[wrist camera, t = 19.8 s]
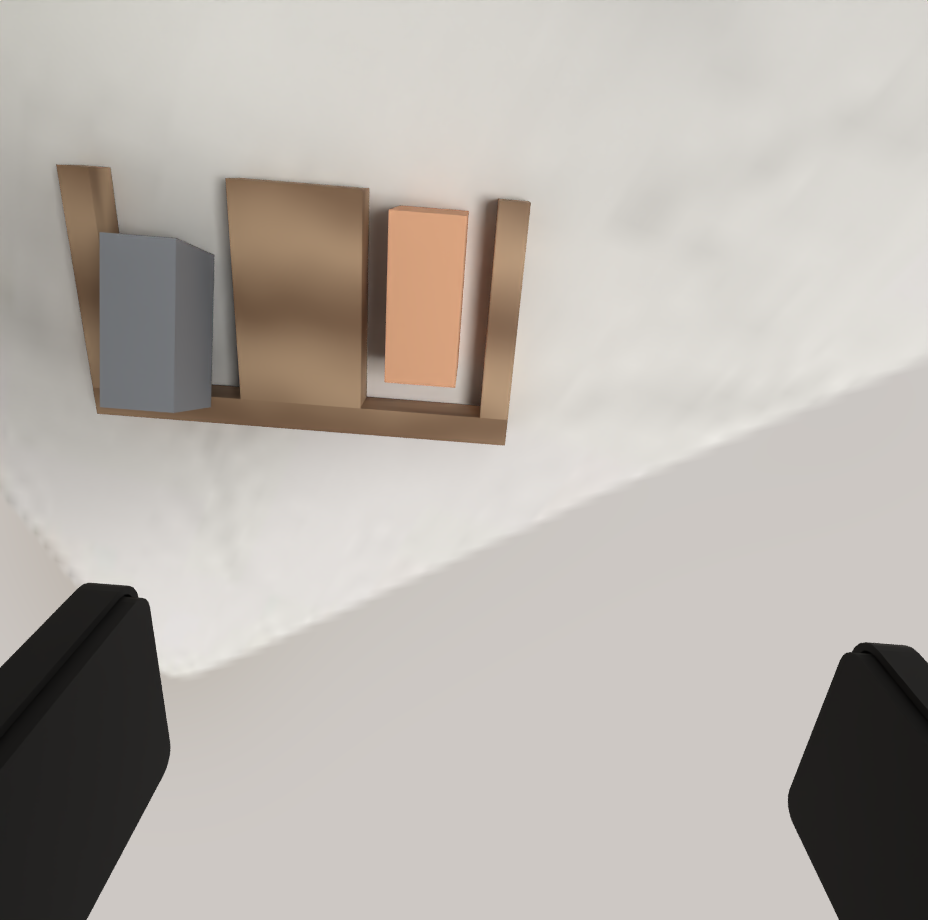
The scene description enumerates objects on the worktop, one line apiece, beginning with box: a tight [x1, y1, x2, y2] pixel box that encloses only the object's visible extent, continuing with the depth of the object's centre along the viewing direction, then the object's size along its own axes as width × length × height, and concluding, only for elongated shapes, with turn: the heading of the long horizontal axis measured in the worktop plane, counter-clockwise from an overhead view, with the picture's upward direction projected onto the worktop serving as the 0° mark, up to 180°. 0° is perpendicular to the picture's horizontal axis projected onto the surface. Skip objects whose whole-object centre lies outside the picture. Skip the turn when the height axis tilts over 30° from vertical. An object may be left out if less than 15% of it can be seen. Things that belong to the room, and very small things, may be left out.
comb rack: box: [56, 165, 531, 445], centre depth 34 cm, size 12×22×2 cm, turn 86°
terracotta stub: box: [385, 206, 469, 388], centre depth 33 cm, size 8×4×4 cm, turn 176°
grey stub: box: [100, 232, 214, 413], centre depth 32 cm, size 8×4×4 cm, turn 176°
